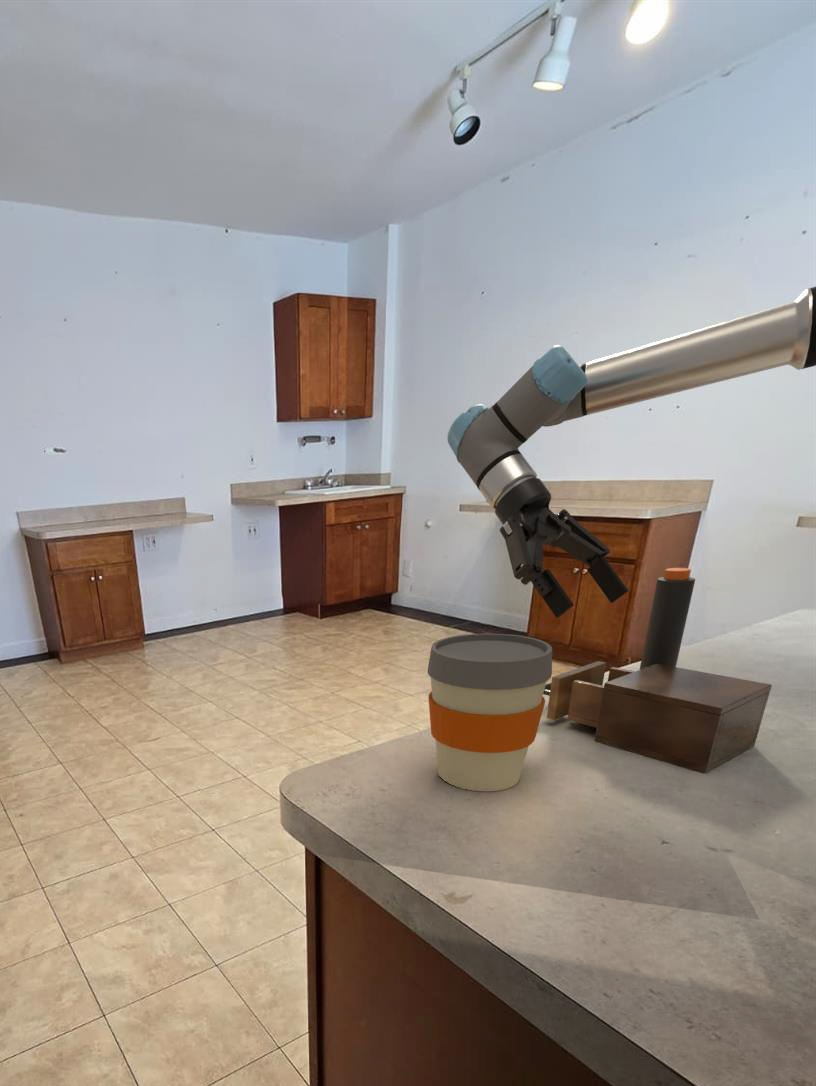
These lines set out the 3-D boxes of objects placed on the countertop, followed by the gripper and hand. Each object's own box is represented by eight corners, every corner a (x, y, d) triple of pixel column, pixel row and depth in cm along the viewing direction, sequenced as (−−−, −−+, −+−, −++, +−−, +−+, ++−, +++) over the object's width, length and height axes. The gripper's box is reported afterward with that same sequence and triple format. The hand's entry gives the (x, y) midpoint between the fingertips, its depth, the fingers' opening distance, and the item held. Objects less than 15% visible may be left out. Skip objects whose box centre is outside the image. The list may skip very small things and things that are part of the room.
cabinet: (594, 740, 80) (604, 682, 77) (644, 718, 85) (656, 663, 82) (705, 773, 70) (722, 708, 67) (754, 746, 75) (772, 684, 72)
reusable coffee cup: (415, 792, 71) (421, 660, 65) (428, 748, 81) (435, 632, 75) (538, 805, 66) (558, 665, 60) (536, 757, 77) (552, 633, 70)
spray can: (665, 696, 92) (693, 566, 85) (674, 707, 88) (705, 571, 81) (627, 695, 94) (652, 567, 86) (635, 705, 90) (661, 572, 82)
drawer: (520, 711, 88) (525, 670, 86) (565, 694, 93) (571, 655, 91) (633, 742, 76) (642, 696, 74) (678, 721, 81) (688, 678, 79)
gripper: (547, 506, 107) (620, 606, 102) (445, 520, 96) (520, 634, 91) (582, 470, 101) (662, 575, 96) (477, 480, 90) (560, 600, 84)
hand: (593, 604), depth 93 cm, fingers open, 13 cm apart
